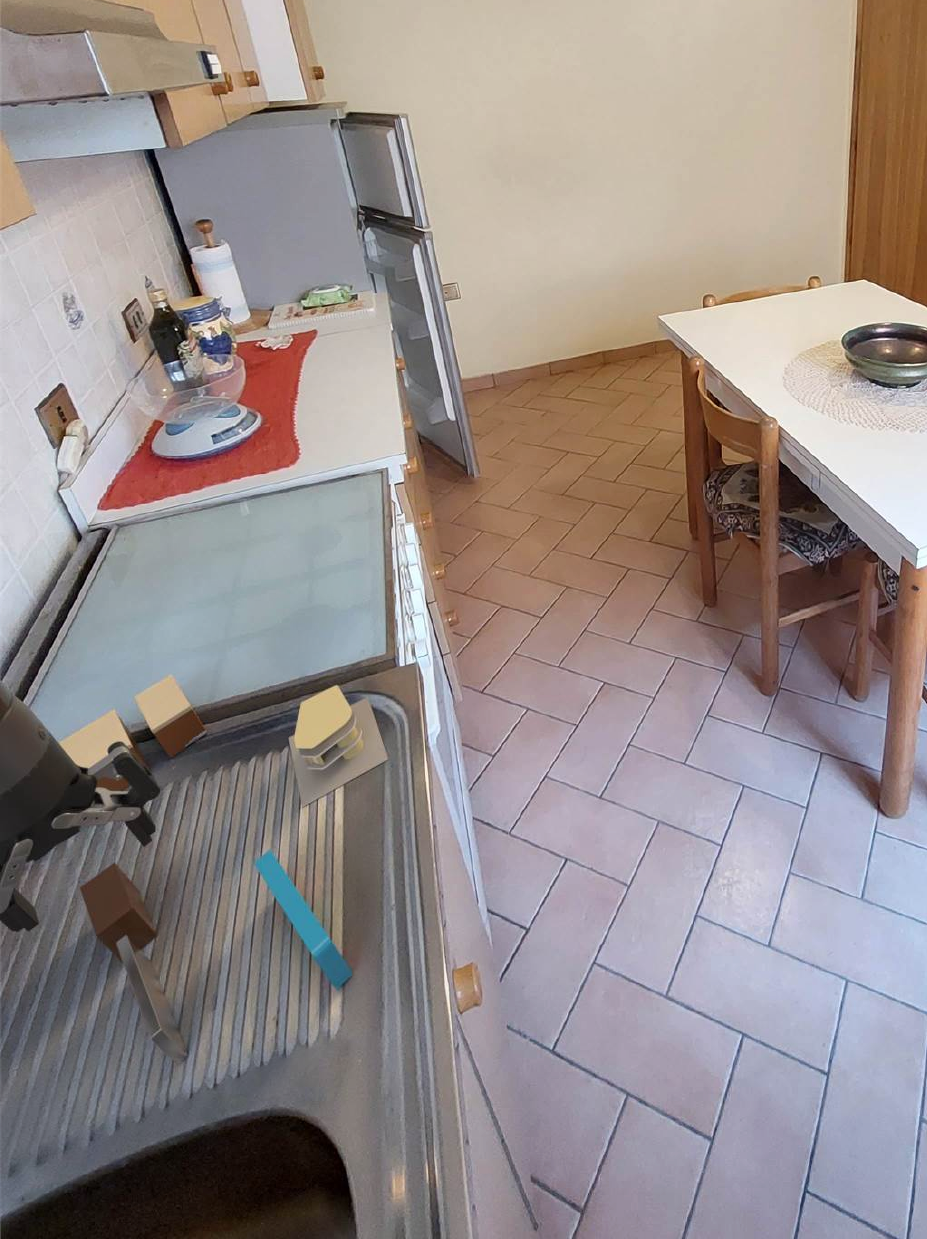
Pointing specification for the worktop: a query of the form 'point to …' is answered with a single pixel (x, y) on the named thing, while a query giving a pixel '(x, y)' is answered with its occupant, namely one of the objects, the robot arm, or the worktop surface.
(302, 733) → the stacked layers on plate
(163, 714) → the cream topped brown block
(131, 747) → the cake
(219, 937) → the worktop surface
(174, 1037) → the knife
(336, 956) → the long teal plank
